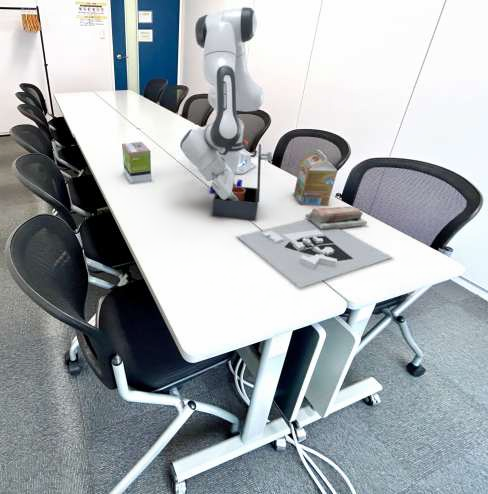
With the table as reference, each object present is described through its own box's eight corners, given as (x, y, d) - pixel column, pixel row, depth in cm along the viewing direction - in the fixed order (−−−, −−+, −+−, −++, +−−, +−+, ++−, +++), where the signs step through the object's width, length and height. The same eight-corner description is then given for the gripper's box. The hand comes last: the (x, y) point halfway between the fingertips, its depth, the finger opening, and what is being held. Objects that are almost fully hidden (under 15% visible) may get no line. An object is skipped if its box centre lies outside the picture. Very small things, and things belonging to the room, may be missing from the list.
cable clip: (210, 192, 143) (211, 179, 140) (213, 189, 147) (214, 175, 144) (238, 197, 139) (239, 183, 136) (240, 193, 142) (242, 179, 139)
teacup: (233, 202, 132) (235, 185, 128) (246, 207, 128) (249, 190, 124) (223, 207, 129) (225, 189, 125) (236, 212, 125) (238, 194, 121)
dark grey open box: (212, 216, 125) (213, 199, 121) (216, 200, 137) (217, 184, 133) (255, 220, 121) (257, 203, 118) (255, 204, 133) (258, 188, 130)
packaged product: (325, 217, 111) (307, 205, 120) (321, 230, 114) (304, 217, 122) (371, 213, 115) (351, 201, 123) (366, 226, 117) (347, 213, 126)
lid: (258, 156, 109) (273, 155, 108) (258, 144, 121) (272, 143, 120) (256, 202, 118) (270, 202, 116) (257, 187, 129) (269, 186, 128)
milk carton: (293, 193, 142) (303, 148, 132) (319, 194, 141) (331, 149, 131) (300, 204, 133) (311, 157, 123) (327, 205, 132) (341, 157, 122)
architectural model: (317, 218, 123) (319, 212, 122) (390, 258, 100) (393, 252, 99) (237, 237, 111) (238, 232, 110) (300, 288, 89) (301, 281, 88)
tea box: (123, 173, 164) (121, 142, 156) (143, 171, 167) (142, 141, 159) (130, 184, 152) (128, 151, 144) (151, 181, 155) (151, 149, 147)
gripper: (217, 173, 113) (243, 203, 116) (223, 155, 129) (245, 182, 132) (203, 185, 116) (228, 213, 119) (210, 166, 133) (233, 191, 136)
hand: (237, 196), depth 126 cm, fingers closed on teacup, 6 cm apart
